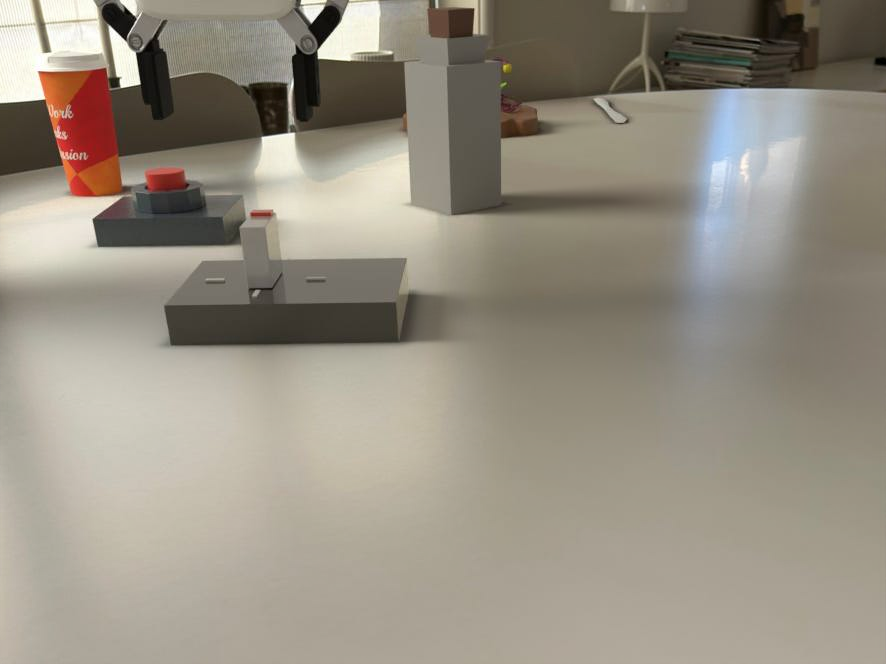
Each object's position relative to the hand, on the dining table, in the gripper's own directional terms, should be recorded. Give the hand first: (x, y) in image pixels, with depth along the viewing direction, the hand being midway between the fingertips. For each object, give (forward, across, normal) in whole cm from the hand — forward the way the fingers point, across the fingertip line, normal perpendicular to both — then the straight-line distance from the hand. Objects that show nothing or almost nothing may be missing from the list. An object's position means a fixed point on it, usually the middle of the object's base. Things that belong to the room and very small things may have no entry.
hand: (234, 118), depth 72 cm
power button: (+10, -13, +27) cm, 32 cm away
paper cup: (+15, -27, +48) cm, 57 cm away
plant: (+14, +15, +92) cm, 94 cm away
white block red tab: (+11, +1, 0) cm, 11 cm away
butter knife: (+13, +37, +107) cm, 114 cm away
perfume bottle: (+14, +14, +38) cm, 43 cm away
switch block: (+14, -13, +27) cm, 33 cm away
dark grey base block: (+14, +3, 0) cm, 14 cm away
